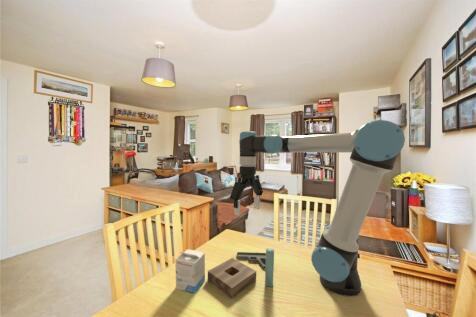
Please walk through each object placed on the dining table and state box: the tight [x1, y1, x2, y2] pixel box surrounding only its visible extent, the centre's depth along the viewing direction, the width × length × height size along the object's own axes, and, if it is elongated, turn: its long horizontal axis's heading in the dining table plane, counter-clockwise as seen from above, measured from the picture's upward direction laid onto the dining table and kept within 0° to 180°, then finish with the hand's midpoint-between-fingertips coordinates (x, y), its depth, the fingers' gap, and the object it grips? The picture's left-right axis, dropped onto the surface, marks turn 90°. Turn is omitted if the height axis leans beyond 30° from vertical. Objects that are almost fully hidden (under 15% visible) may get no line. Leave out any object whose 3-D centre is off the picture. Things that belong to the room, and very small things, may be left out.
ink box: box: [174, 248, 206, 294], centre depth 80 cm, size 9×8×13 cm
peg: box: [264, 247, 275, 288], centre depth 81 cm, size 3×3×14 cm
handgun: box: [236, 251, 266, 270], centre depth 97 cm, size 2×17×12 cm
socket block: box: [207, 257, 257, 299], centre depth 83 cm, size 14×14×4 cm
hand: (247, 211), depth 94 cm, fingers open, 13 cm apart
